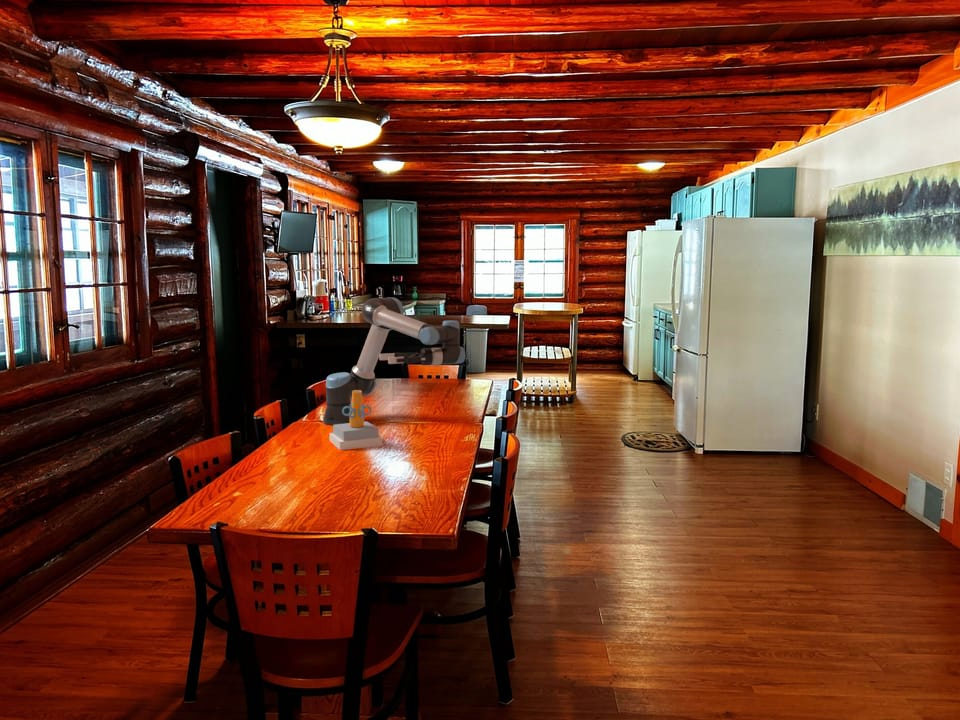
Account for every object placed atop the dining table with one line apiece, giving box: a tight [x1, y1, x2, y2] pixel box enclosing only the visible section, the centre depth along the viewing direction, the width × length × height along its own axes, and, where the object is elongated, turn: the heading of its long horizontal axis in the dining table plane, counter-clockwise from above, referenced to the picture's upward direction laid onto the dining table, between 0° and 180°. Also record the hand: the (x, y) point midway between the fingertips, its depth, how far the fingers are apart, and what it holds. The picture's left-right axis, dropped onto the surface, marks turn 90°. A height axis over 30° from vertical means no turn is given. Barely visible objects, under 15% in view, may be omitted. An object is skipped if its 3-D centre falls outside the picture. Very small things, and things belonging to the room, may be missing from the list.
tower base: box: [329, 432, 383, 451], centre depth 305 cm, size 18×18×4 cm
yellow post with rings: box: [342, 390, 372, 427], centre depth 303 cm, size 12×10×15 cm
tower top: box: [332, 421, 380, 441], centre depth 305 cm, size 15×15×4 cm
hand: (384, 358), depth 309 cm, fingers open, 13 cm apart
